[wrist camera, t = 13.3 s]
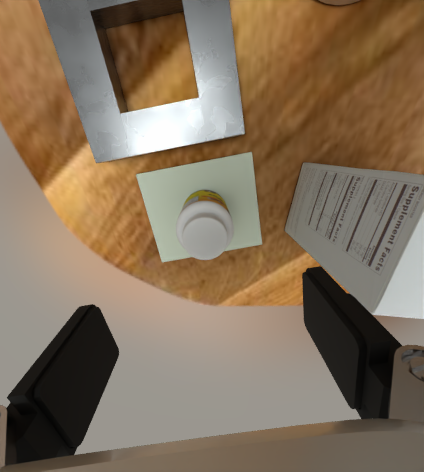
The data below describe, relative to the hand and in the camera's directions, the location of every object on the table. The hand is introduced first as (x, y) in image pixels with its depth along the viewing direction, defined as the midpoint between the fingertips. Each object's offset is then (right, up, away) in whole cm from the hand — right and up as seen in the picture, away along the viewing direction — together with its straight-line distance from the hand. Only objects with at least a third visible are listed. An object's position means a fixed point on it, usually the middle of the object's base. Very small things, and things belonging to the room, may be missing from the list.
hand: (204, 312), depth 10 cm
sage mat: (-1, +7, +19) cm, 20 cm away
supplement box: (+15, +8, +19) cm, 26 cm away
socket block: (-6, +21, +13) cm, 25 cm away
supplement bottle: (-1, +7, +18) cm, 20 cm away
